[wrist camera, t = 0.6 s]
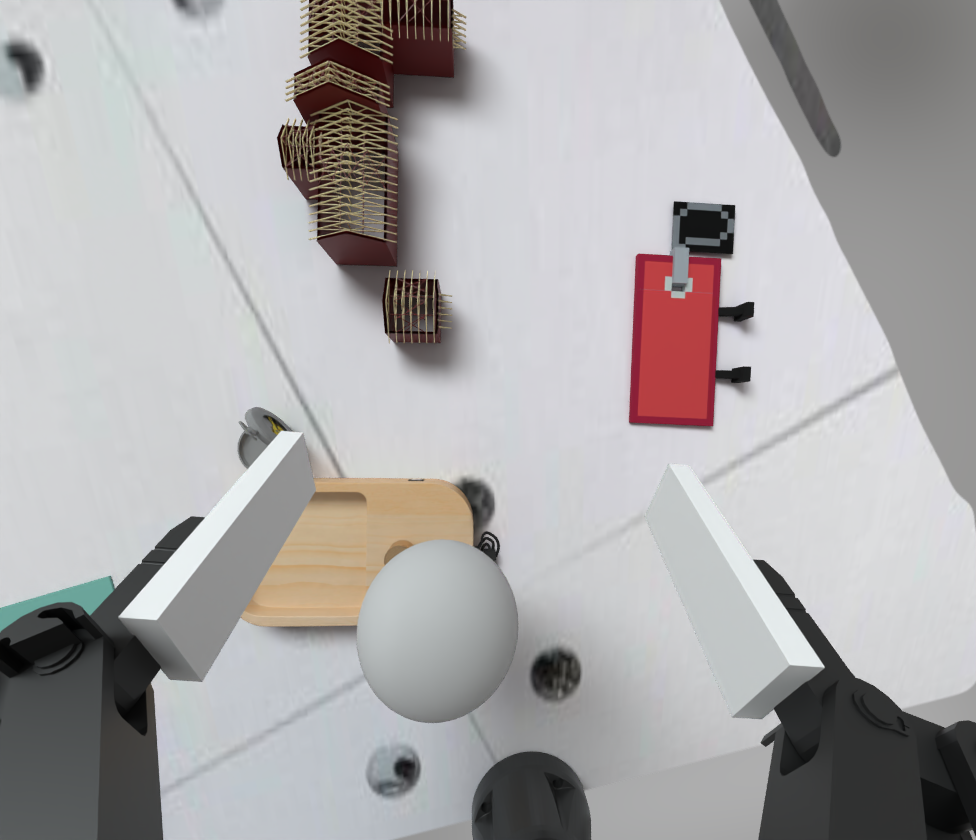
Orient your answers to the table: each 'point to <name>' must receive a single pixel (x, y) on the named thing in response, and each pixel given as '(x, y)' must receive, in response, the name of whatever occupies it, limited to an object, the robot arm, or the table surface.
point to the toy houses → (364, 127)
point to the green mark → (61, 600)
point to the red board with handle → (682, 321)
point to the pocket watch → (258, 434)
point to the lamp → (398, 591)
